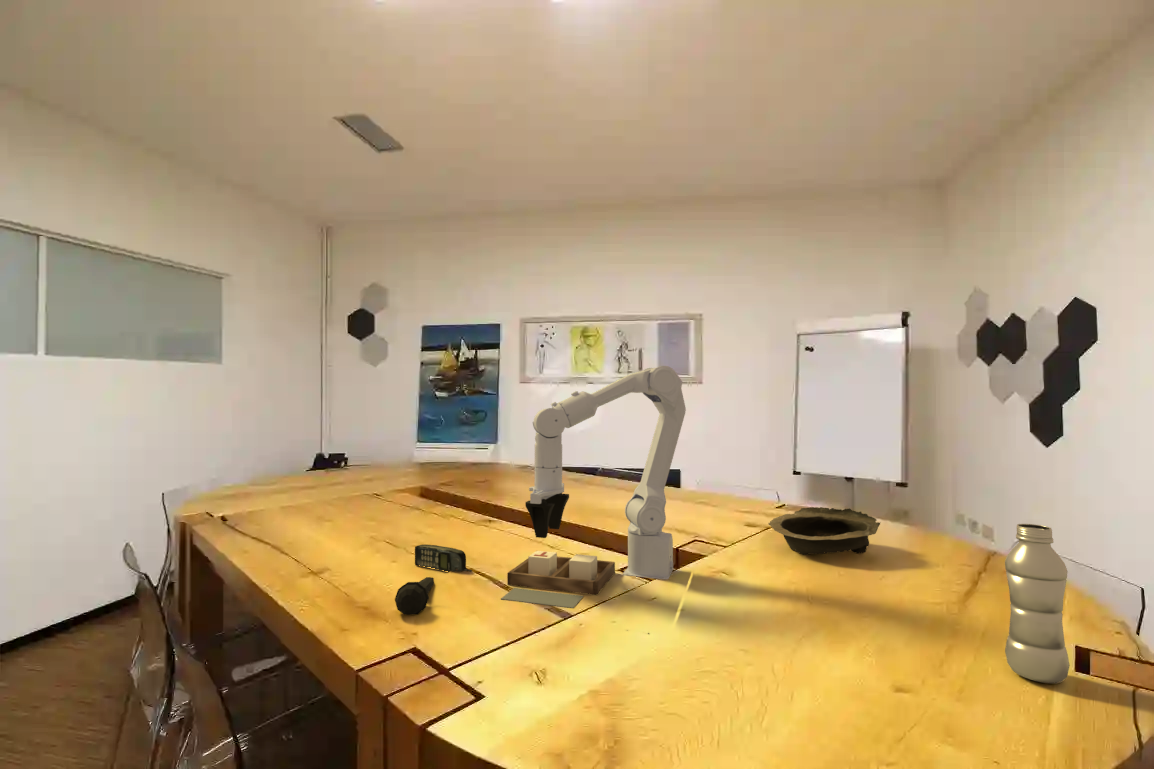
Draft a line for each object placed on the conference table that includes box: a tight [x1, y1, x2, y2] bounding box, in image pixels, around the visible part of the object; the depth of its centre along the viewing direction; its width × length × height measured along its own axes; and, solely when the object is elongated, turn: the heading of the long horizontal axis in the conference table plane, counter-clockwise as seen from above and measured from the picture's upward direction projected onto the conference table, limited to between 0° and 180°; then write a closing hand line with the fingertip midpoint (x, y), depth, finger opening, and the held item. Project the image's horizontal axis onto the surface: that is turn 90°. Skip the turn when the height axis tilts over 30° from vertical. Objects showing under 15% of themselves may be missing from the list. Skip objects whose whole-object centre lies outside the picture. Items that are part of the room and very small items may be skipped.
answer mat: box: [500, 587, 585, 609], centre depth 101 cm, size 14×6×1 cm, turn 72°
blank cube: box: [569, 553, 598, 581], centre depth 110 cm, size 4×4×4 cm
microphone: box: [394, 576, 435, 616], centre depth 102 cm, size 6×6×20 cm
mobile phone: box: [414, 543, 473, 573], centre depth 120 cm, size 5×3×15 cm
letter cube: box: [527, 550, 558, 576], centre depth 113 cm, size 4×4×5 cm
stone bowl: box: [768, 506, 881, 556], centre depth 134 cm, size 25×25×9 cm
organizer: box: [506, 555, 616, 596], centre depth 112 cm, size 18×14×3 cm
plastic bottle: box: [1004, 523, 1071, 684], centre depth 73 cm, size 6×7×20 cm
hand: (547, 532), depth 113 cm, fingers open, 7 cm apart
